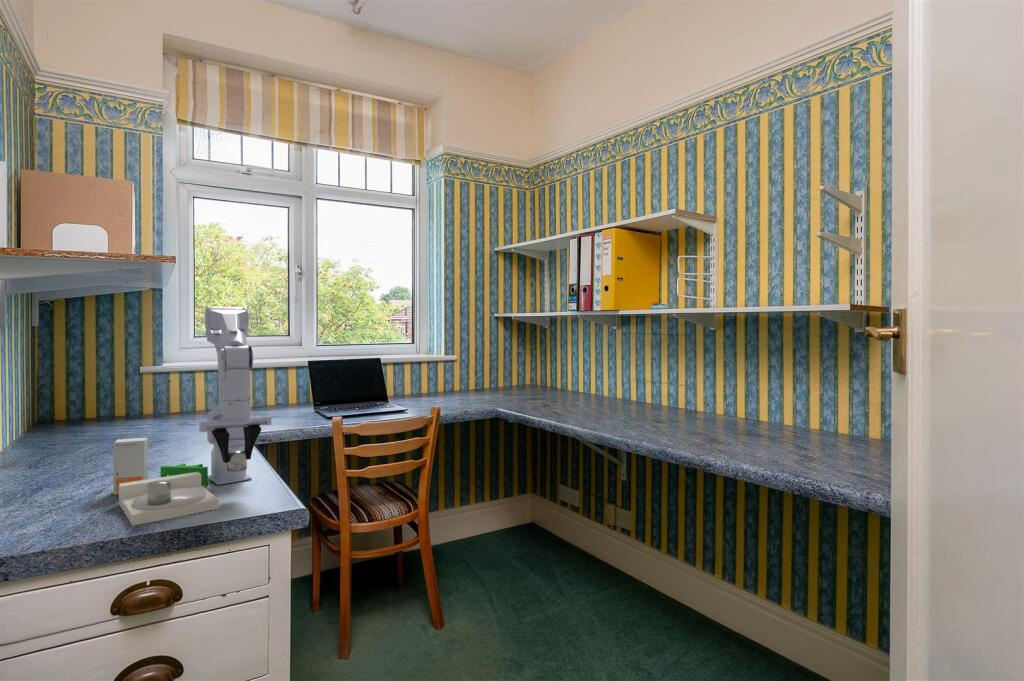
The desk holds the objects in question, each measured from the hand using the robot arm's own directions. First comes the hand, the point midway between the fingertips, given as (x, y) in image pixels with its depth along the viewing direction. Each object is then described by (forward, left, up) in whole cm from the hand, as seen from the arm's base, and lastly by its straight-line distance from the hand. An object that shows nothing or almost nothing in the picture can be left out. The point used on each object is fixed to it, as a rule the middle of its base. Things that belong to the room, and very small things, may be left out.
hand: (236, 460), depth 125 cm
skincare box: (-20, -17, -8) cm, 27 cm away
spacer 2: (0, 0, -2) cm, 2 cm away
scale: (-1, -13, -8) cm, 15 cm away
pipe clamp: (-19, -6, -9) cm, 22 cm away
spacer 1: (+4, -16, -6) cm, 17 cm away
